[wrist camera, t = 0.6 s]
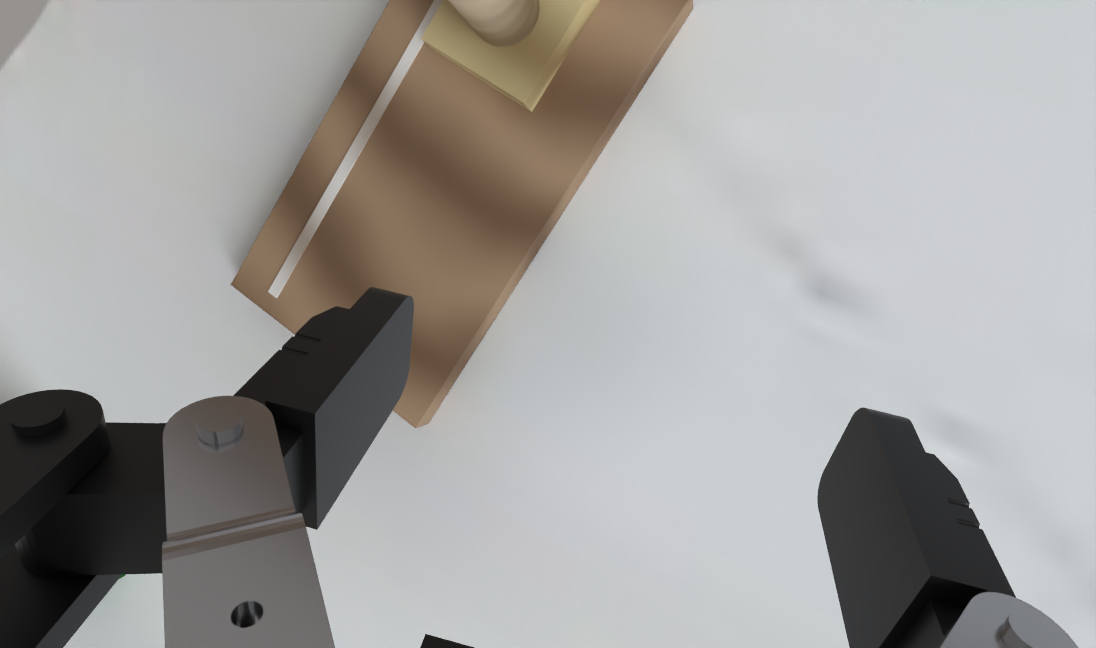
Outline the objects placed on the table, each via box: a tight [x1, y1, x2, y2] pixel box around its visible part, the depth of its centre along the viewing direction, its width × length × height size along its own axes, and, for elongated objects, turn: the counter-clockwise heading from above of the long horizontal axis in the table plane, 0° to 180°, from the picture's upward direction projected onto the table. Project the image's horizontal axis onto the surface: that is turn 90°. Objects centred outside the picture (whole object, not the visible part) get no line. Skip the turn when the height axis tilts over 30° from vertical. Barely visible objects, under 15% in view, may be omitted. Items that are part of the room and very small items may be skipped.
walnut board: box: [231, 0, 693, 428], centre depth 33 cm, size 24×13×2 cm, turn 146°
